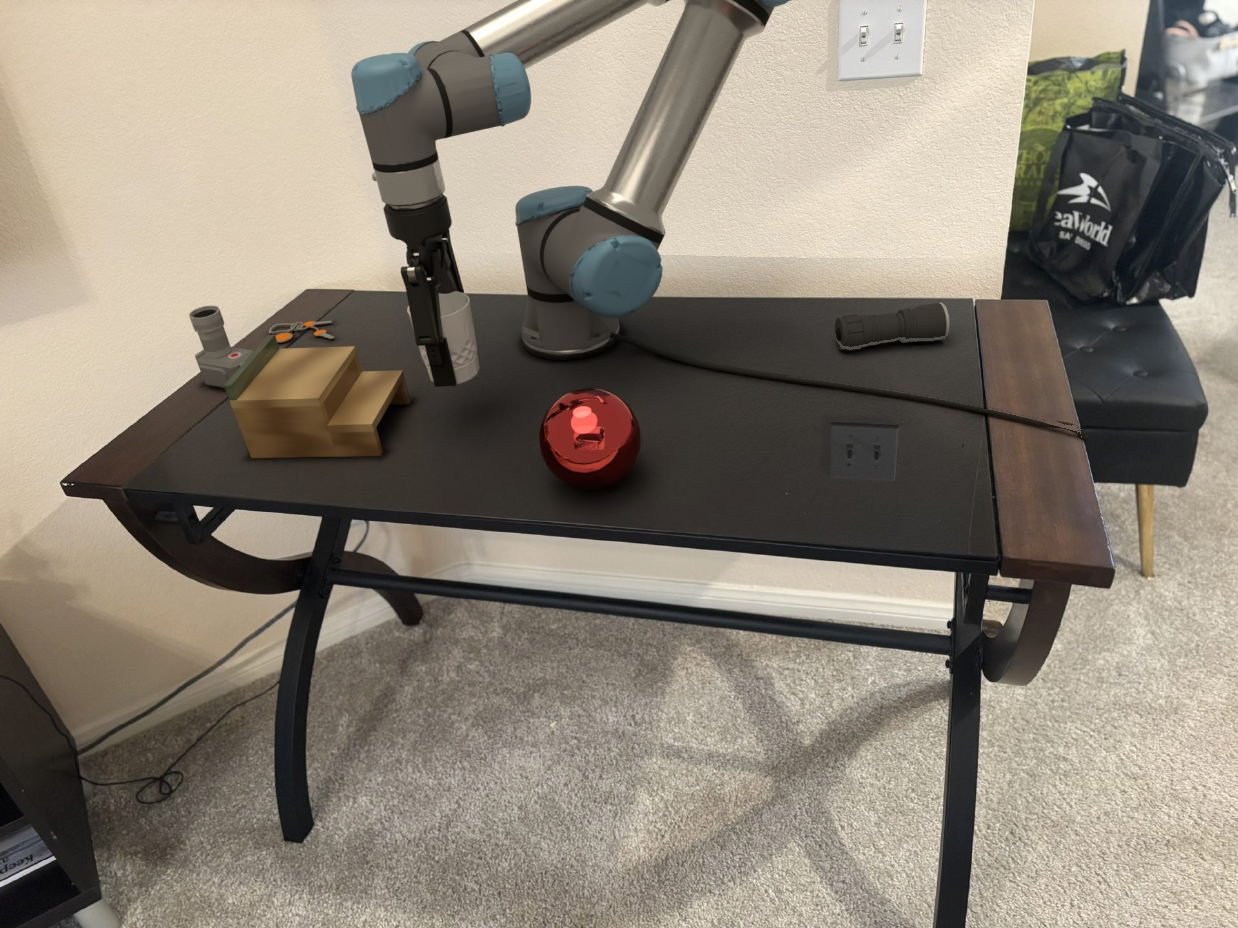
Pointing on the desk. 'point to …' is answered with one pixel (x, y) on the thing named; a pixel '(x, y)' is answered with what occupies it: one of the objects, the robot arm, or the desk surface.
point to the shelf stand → (311, 402)
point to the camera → (215, 347)
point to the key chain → (287, 336)
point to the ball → (590, 438)
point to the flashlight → (893, 325)
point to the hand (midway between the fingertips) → (453, 368)
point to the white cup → (457, 335)
